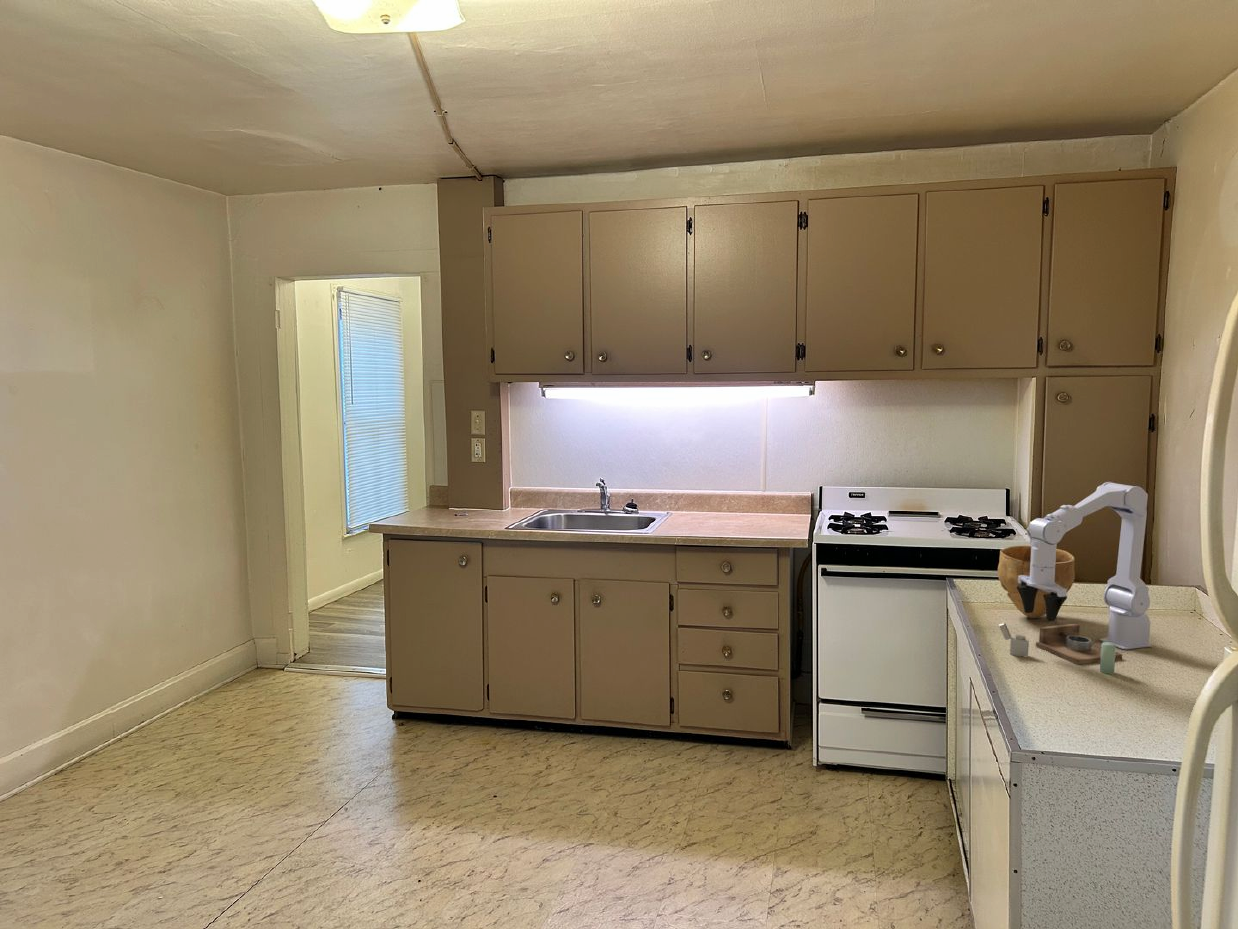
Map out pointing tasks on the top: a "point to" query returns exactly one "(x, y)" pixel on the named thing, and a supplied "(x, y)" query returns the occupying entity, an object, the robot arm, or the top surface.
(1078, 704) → the top surface
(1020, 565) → the bowl
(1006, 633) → the lighter
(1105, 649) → the peg
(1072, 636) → the cup bracket
